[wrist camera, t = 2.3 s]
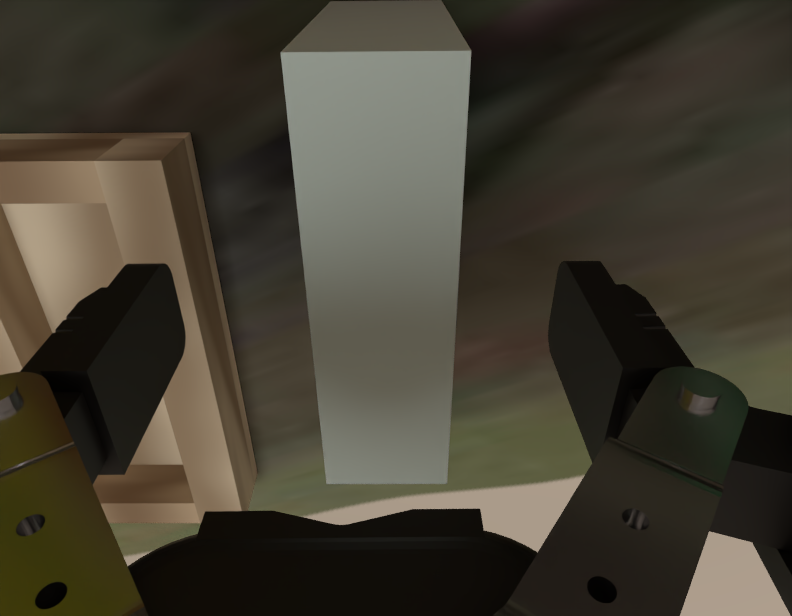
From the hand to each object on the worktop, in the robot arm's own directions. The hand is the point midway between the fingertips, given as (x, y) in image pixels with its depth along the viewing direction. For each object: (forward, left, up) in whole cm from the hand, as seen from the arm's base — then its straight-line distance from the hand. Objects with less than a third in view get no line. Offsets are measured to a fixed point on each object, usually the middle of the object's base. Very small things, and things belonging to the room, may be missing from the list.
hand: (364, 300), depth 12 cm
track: (+10, +6, -7) cm, 14 cm away
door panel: (0, 0, -8) cm, 8 cm away
